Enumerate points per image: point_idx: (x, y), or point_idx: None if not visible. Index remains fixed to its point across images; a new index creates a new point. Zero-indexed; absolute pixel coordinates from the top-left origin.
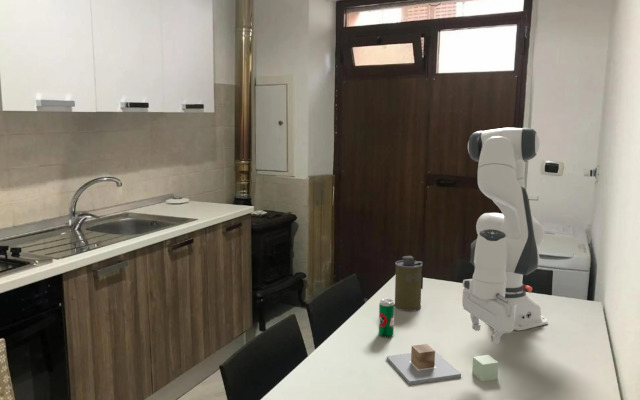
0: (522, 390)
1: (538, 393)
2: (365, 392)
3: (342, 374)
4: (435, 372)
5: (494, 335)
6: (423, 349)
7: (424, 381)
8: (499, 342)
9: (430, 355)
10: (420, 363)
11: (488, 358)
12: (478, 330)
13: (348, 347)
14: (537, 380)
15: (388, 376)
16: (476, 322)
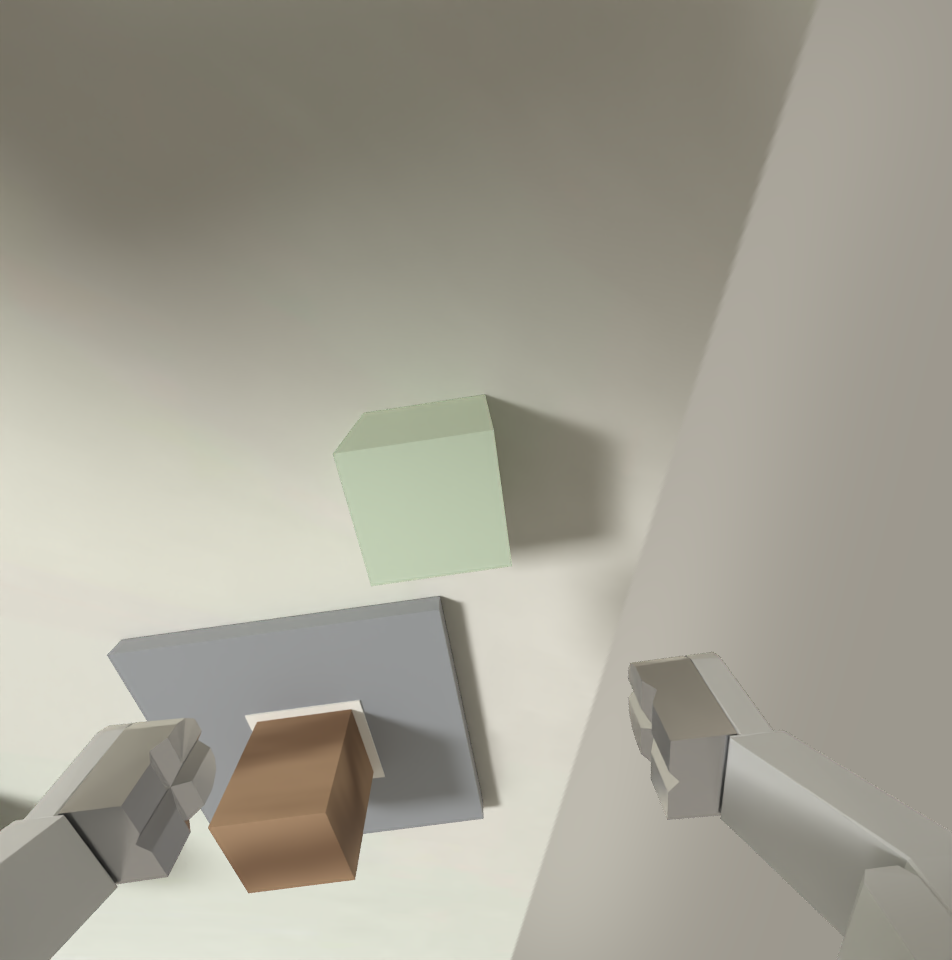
0: (668, 296)
1: (742, 190)
2: (513, 910)
3: (375, 947)
4: (410, 716)
5: (804, 874)
6: (302, 856)
7: (472, 757)
8: (720, 658)
9: (341, 803)
10: (365, 799)
11: (410, 482)
12: (201, 730)
13: (125, 922)
14: (563, 56)
15: (401, 846)
16: (63, 872)
